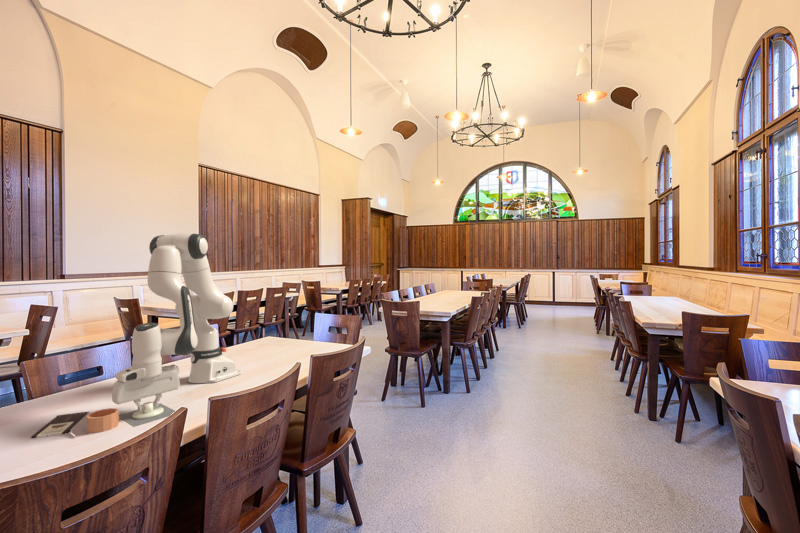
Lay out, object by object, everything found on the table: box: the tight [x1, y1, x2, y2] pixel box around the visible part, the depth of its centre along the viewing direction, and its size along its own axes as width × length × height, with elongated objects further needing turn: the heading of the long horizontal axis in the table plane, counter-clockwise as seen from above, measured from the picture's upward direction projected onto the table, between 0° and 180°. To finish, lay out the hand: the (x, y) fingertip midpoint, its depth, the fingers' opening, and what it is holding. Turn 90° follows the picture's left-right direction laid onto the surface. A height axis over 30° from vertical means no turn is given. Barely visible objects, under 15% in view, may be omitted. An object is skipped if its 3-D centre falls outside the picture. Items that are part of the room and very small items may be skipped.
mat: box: [119, 403, 176, 428], centre depth 134 cm, size 14×16×1 cm
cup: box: [86, 407, 120, 434], centre depth 123 cm, size 8×8×5 cm
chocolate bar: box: [30, 411, 90, 439], centre depth 127 cm, size 9×1×18 cm
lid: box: [132, 401, 164, 419], centre depth 134 cm, size 9×9×4 cm
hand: (148, 408), depth 134 cm, fingers closed on lid, 3 cm apart
